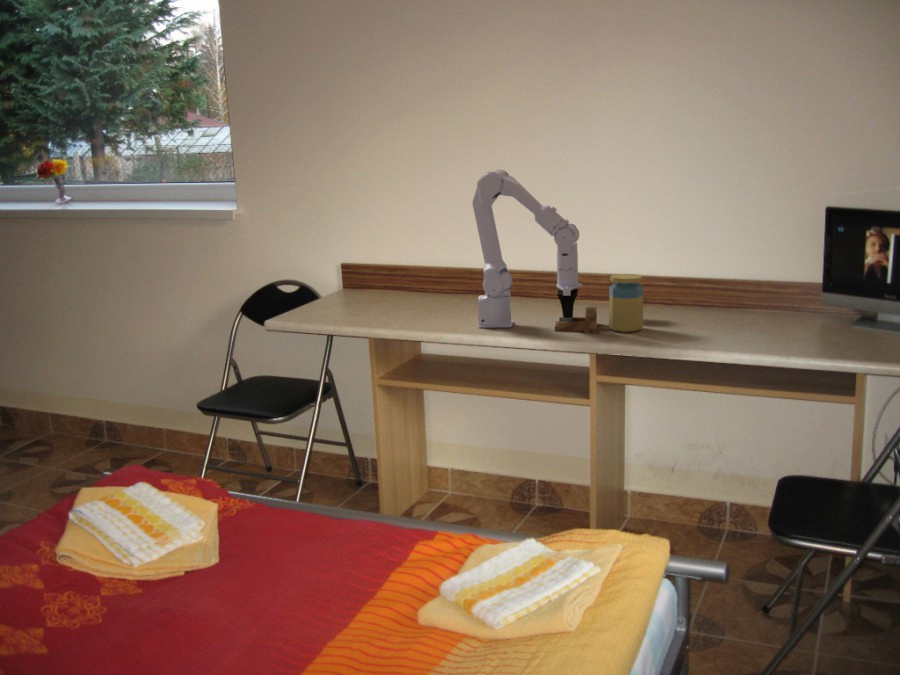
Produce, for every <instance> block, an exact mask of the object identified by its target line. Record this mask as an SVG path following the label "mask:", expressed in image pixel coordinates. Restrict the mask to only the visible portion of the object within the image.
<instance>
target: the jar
mask: <svg viewBox="0 0 900 675" xmlns="http://www.w3.org/2000/svg"><path fill="white" fill-rule="evenodd" d="M609 280H610V282H613V283H612V284H611V285H610V286H609V288H608V289H609V291H608V292H609V293H608V294H609V295H608V296H609V298H608V299H609V302H608V303H609V304H608V305H609V306H608V307H609V309H608V310H609V312H608V313H609V315H608V316H609V317H608V318H609V320H608V322H609V324H608V326H609V328H610V329H611V330H613V331H615V332H617V333H626V334H627V333H636V332H637V331H640V330H641V329H643V328H644V286H642V285H641V284H640V282H643V276H642V275H640V274H636V273H635V274H634V273H619V274H618V273H617V274H613V275H610V277H609Z"/></svg>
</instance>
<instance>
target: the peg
mask: <svg viewBox="0 0 900 675" xmlns="http://www.w3.org/2000/svg"><path fill="white" fill-rule="evenodd" d="M561 315H562V317H563V322H573V317H574V312H573V313H572V317H571V318H564V316H563V312H562V314H561Z"/></svg>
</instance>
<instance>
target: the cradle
mask: <svg viewBox="0 0 900 675" xmlns="http://www.w3.org/2000/svg"><path fill="white" fill-rule="evenodd" d="M597 310H598V308H597V306H586V307H585V316H573V322H563V316H559V317H558V319H559V320H556V321H555V323H554V325H555V326H554V331H556V332H585V334H596V333H597V330H598V329H597V328H598V325H597V324H598V321H597V317H598V315H597V314H598V313H597V312H598V311H597Z"/></svg>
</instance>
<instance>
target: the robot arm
mask: <svg viewBox="0 0 900 675" xmlns="http://www.w3.org/2000/svg"><path fill="white" fill-rule="evenodd" d="M476 186H477V187H476V189H475V192H474V196H473V198H472V208H473V212H474V218H475V222H476V227H477V232H478V237H479V238H478V239H479V242H480V247H481V252H482V256H483V262H484V266H483V270H482V271H483V280H482V288H483V291H484V293H485V294H483V295H479V296H478V298H477V299H478V300H477V309H478V310H477V311H478V312H477V313H478V314H477V315H478V316H477V318H478V319H477V320H478V328H487V329H489V328H492V329H493V328H512V326H513V324H514V321H515V320H514V319H512V303H511V302H512V299H511V298H512V296H511V294H512V293H511V291H510V288H511V287H512V285H513V276H512V274H511V273H510V271H509V269H508V266H507V264H506V262H505V261H504V259H503V255H502V249H501V244H500V240H499V236H498V235H499V234H498V231H497V226H496V219H495V216H494V211H493V204H494V203H495V202H496V201H497V199H498V197H499V196H505V197H512V198H513V199H515V201H517V202H519V203H520V204H521V205H522V206H523V207H525V208H526V209H527V210H529V212H531V213H532V214H533V215H534V221H535V222H536V223H537V224H538V225H539V226H540V227H541V228H542V229H544V231H545V232H547V233H548V235H550V236H551V237H553V240H554V242H555V244H556V245H557V248H556V249H557V250H556V251H557V252H556V264H557V265H556V267H557V268H556V271H557V272H556V275H557V276H556V277H557V278H556V279H557V280H556V281H557V283H556V288H557V293H556V296H557V298H558V299H559V302H560V306H561V310H562V312H563V314H562V317H563V316H564V318H571V317H572V313H573V314H574V304H575V302H576V299H577V297H578V292H579V289H578V288H582V287H583V283H581V282H580V283H579V274H578V273H579V265H578V264H579V263H578V262H579V260H578V258H579V255H578V254H579V252H578V242H577V241H578V240H579V239H580V230H579V229H578V228H577V226H576V225H575V224H574V223H570V221H569V219H565V218H564V217H563V216H561V215H560V213H558V212H557V211H558V210H557V207H555V206H550V205H542V204H541V203H540V202H539V201H538V200H537V199H536V198H535V197H534V196H533V195H532V194H531V193H530V192H529V190H527V189H526V188H525V187H524V186H523V185H522V184H521V183H520V182H519V181H518V180H517V179H516V178H515V177H513V176H512V175H510V174H509V173H508V171H506V170H503V169H496V170H494V171H488V172H487V171H486V172H485V173H483V175H482V176H481V177H480V178H479V179H478V180H477V183H476Z"/></svg>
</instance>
